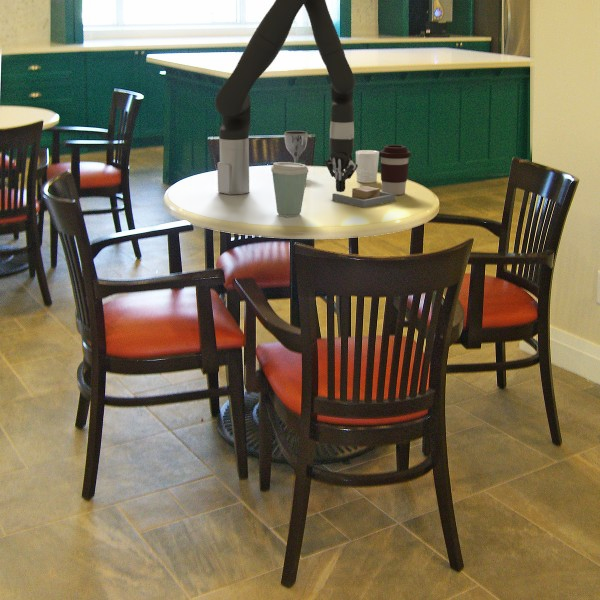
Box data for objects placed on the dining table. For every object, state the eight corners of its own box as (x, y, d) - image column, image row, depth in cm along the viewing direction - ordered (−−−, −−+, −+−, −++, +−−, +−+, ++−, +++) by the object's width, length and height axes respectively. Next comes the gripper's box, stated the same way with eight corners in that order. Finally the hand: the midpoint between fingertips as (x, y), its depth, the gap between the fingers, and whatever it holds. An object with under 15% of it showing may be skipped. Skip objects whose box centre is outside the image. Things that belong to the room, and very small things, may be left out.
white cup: (376, 183, 298) (377, 154, 295) (353, 182, 300) (354, 153, 296) (379, 179, 306) (380, 150, 302) (356, 178, 307) (357, 149, 304)
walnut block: (366, 204, 269) (366, 191, 267) (352, 201, 273) (352, 188, 272) (379, 201, 272) (380, 188, 271) (365, 198, 277) (365, 186, 275)
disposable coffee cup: (287, 209, 261) (287, 158, 257) (316, 214, 255) (316, 162, 250) (263, 215, 254) (263, 163, 249) (292, 221, 247) (292, 167, 242)
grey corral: (363, 207, 264) (363, 200, 263) (332, 200, 273) (332, 193, 273) (395, 200, 273) (395, 194, 272) (364, 194, 282) (364, 187, 282)
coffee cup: (413, 191, 286) (415, 145, 281) (403, 197, 277) (405, 149, 272) (384, 189, 290) (385, 143, 285) (373, 194, 281) (374, 147, 276)
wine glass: (307, 177, 309) (307, 133, 304) (284, 177, 309) (284, 133, 304) (307, 173, 316) (307, 130, 312) (284, 173, 316) (284, 130, 312)
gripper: (318, 134, 276) (317, 189, 282) (347, 139, 267) (346, 196, 272) (335, 132, 281) (334, 186, 286) (365, 137, 271) (363, 193, 277)
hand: (340, 191), depth 279 cm, fingers closed
